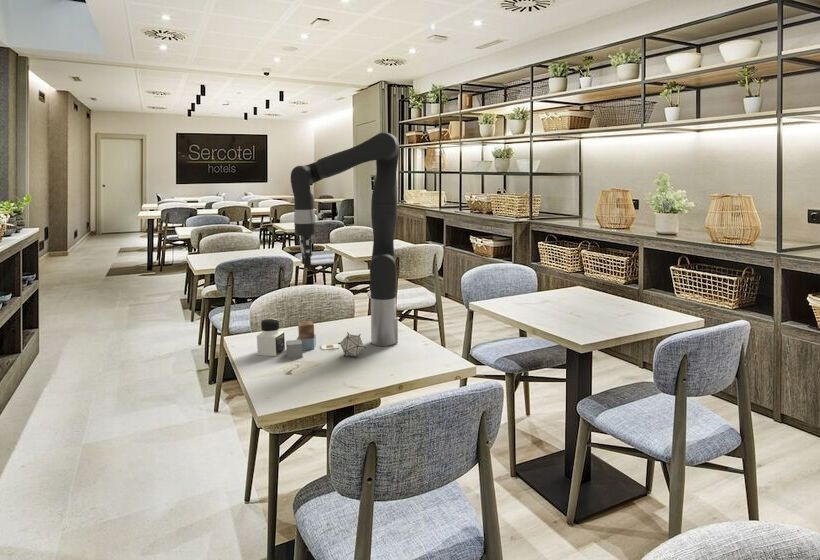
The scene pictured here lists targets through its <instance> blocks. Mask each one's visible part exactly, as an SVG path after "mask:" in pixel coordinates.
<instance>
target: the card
mask: <svg viewBox="0 0 820 560" xmlns="http://www.w3.org/2000/svg"><path fill="white" fill-rule="evenodd" d="M320 348H321V350H322V351H324V350H338V349H340V347H339V344H338V343H332V344H323V345H322V344H321V345H320Z"/></svg>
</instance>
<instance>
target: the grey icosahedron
mask: <svg viewBox="0 0 820 560" xmlns="http://www.w3.org/2000/svg"><path fill="white" fill-rule="evenodd" d="M361 335H362V333H359V334H358V335H357V334H350V333H349V332H347V334H346V336H345V338H343V340H342V341H341V342H337V345H340V347H341V349H342V352H343V357H346V356H351V357H355V359H358V355H359V354H360V352H362V351H363V349H366V348H367V346H366V345H364V344H363V340H362V338H361Z"/></svg>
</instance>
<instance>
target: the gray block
mask: <svg viewBox="0 0 820 560" xmlns="http://www.w3.org/2000/svg"><path fill="white" fill-rule="evenodd" d="M285 343H286V344H285V350H286V356H287V360H291V359H301V358H302V359H303V358H304V355H303V350H302V342H301V340H297V339H292V340H291V339H290V340H286V342H285Z"/></svg>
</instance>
